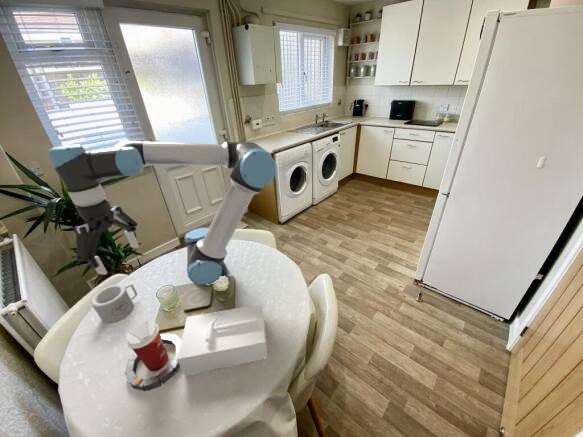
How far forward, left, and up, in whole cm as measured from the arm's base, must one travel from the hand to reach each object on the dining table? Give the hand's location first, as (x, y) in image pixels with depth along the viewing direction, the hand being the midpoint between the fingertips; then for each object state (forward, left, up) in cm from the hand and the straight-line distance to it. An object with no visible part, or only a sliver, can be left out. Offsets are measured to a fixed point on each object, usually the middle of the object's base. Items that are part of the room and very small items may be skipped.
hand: (120, 259), depth 79 cm
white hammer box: (-28, +24, -27) cm, 46 cm away
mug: (+10, -6, -27) cm, 29 cm away
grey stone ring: (-6, +22, -27) cm, 35 cm away
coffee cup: (-6, +22, -27) cm, 35 cm away
